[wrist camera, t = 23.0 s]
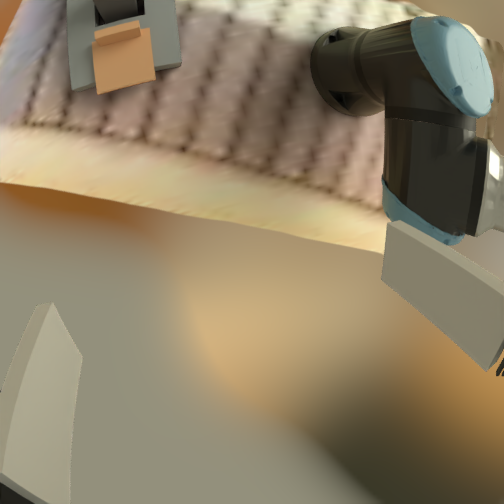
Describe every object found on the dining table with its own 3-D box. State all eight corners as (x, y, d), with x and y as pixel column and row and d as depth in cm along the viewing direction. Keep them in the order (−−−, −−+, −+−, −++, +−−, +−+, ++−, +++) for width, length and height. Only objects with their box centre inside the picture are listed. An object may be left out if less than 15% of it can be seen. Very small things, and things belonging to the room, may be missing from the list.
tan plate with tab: (149, 29, 26) (148, 17, 22) (155, 80, 29) (155, 74, 26) (93, 43, 25) (85, 34, 21) (98, 94, 28) (90, 91, 24)
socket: (169, -37, 24) (170, -47, 21) (180, 66, 32) (181, 61, 29) (72, -14, 21) (67, -22, 18) (78, 92, 29) (71, 90, 27)
